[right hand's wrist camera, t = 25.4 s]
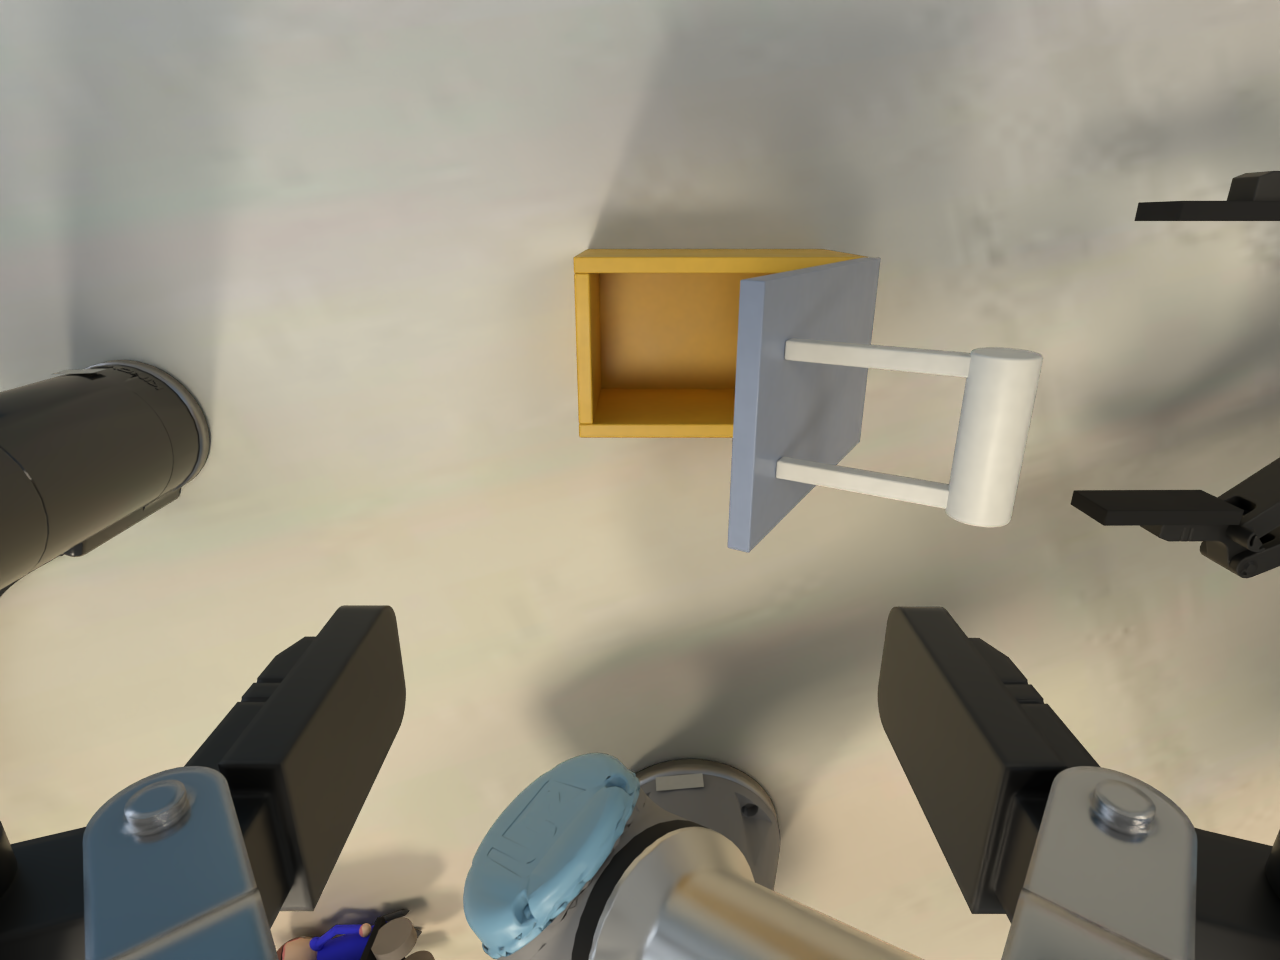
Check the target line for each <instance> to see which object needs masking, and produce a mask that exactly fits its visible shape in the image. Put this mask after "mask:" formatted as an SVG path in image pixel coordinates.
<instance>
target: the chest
mask: <svg viewBox="0 0 1280 960" xmlns="http://www.w3.org/2000/svg"><path fill="white" fill-rule="evenodd" d="M863 257H865V256H859V255H854V254H848V253H842V252H836V251H831V250H825V249H588V250H585V251H584V252H582V253H580V254H579V255H577V256H575V257H574V273H575V274H574V284H575V316H576V348H577V379H578V411H579V423H580V424H579V436H580V437H695V438H733V424H734V403H735V382H736V361H737V340H738V319H739V298H740V281H741V280H743V279H748V278H754V277H759V276H765V275H770V274H776V273H781V272H787V271H792V270H797V269H803V268H808V267H814V266H819V265H825V264H830V263H836V262H841V261H847V260H852V259H858V258H863Z"/></svg>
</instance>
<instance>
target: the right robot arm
mask: <svg viewBox="0 0 1280 960" xmlns="http://www.w3.org/2000/svg"><path fill="white" fill-rule="evenodd" d="M53 374H65V375H62V376H58V377H54V378H50V379H47V380H43V381H40V382H36V383H32V384H29V385H25V386H21V387H18V388H14V389H10V390H7V391H3V392H0V596H1V595H2V594H3V593H4V592H5V591H6V590H7V589H8V588H9V587H10V586H12V585H13V584H14V583H15V582H17V581H18V580H19V579H21V578H22V577H24V576H25V575H27V574H29V573H30V572H32V571H34V570H35V569H37V568H39V567H41V566H42V565H44V564H46V563H48V562H50V561H51V560H53V559H55V558H56V557H58V556H63V555H68V556H72V557H79V556H83V555H85V554H87V553H88V552H90V551H92V550H93V549H95V548H96V547H98V546H100V545H101V544H103V543H105V542H106V541H108V540H110V539H111V538H113V537H115V536H116V535H118V534H120V533H121V532H123V531H124V530H126V529H128V528H129V527H131V526H133V525H134V524H136V523H138V522H139V521H141V520H143V519H144V518H146V517H148V516H149V515H151V514H152V513H154V512H156V511H157V510H159V509H161V508H162V507H164V506H166V505H167V504H169V503H171V502H172V501H174V500H176V499H177V498H178V497H179V490H180V488H181V487H182V486H183V485H185V484H187V483H188V482H190V481H191V480H192V479H193V478H194V477H195V476H197V474H198V473H199V472H200V471H201V469H202V467H203V466H204V464H205V462H206V459H207V456H208V451H209V432H208V427H207V423H206V420H205V417H204V415H203V413H202V411H201V409H200V407H199V405H198V404H197V402H196V401H195V399H194V398H193V396H192V395H191V394H190V393H189V392H188V391H187V389H186V388H185V387H184V386H183V385H181V384H180V383H179V382H178V381H177V380H176V379H174V378H173V377H171V376H170V375H168V374H167V373H165V372H163V371H162V370H160V369H158V368H156V367H153V366H151V365H148V364H145V363H141V362H137V361H131V360H114V361H108V362H104V363H100V364H96V365H93V366H90V367H87V368H85V369H83V370H65V371H61V372H57V373H53ZM405 701H406V687H405V679H404V672H403V665H402V658H401V650H400V643H399V636H398V629H397V622H396V616H395V613H394V611H393V609H392V607H390V606H341V607H339V608H338V609H337V611H336V612H335V613H334V614H333V616H332V617H331V618H330V620H329V621H328V622H327V623H326V625H325V626H324V627H323V629H322V630H321V631H320V633H319V634H318V635H317V636H316V637H304V638H302V639H301V640H299V641H298V642H296V643H295V644H293V645H292V646H290V647H289V648H287V649H286V650H284V651H283V652H281V653H280V654H278V655H277V656H275V658H274V659H273V660H272V661H271V662H270V664H269V665H268V666H267V667H266V668H265V670H264V671H263V672H262V673H261V674H260V676H259V677H258V678H257V683H253V684H252V685H251V687H250V688H249V689H248V690H247V691H246V693H245V694H244V695H243V696H242V700H241V702H237V703H236V705H235V706H234V707H233V708H232V709H231V711H230V712H229V713H228V714H227V715H226V717H225V718H224V719H223V720H222V721H221V723H220V724H219V725H218V726H217V727H216V729H215V730H214V731H213V732H212V733H211V735H210V736H209V737H208V738H207V740H206V741H205V742H204V743H203V744H202V746H201V747H200V748H199V749H198V750H197V752H196V753H195V754H194V755H193V756H192V758H191V759H190V760H189V761H188V762H187V764H186V765H185V766H184V767H179V768H174V769H170V770H165V771H162V772H159V773H156V774H153V775H151V776H148V777H146V778H144V779H141V780H139V781H138V782H136V783H134V784H132V785H130V786H128V787H127V788H125V789H123V790H122V791H120V792H119V793H117V794H116V795H115V796H113V797H112V798H111V799H109V800H108V801H107V802H106V803H105V804H104V805H103V806H102V807H101V808H99V810H98V811H97V812H96V813H95V814H94V815H93V817H92V818H91V820H90V821H89V823H88V824H87V826H86V827H83V828H79V829H75V830H70V831H66V832H62V833H58V834H53V835H49V836H45V837H40V838H36V839H32V840H27V841H23V842H19V843H15V844H10V843H9V840H8V838H7V835H6V833H5V831H4V828H3V826H2V823H1V821H0V960H279V959H278V955H277V952H276V948H275V945H274V941H273V938H272V934H271V931H270V929H271V927H272V925H273V923H274V921H275V919H276V917H277V915H278V913H279V911H314V908H315V906H316V904H317V902H318V900H319V898H320V896H321V894H322V891H323V889H324V887H325V885H326V883H327V881H328V879H329V877H330V874H331V872H332V870H333V868H334V866H335V864H336V862H337V860H338V857H339V855H340V853H341V851H342V849H343V847H344V845H345V843H346V840H347V838H348V836H349V834H350V832H351V830H352V828H353V826H354V824H355V821H356V819H357V817H358V815H359V813H360V811H361V809H362V807H363V804H364V802H365V800H366V798H367V796H368V794H369V792H370V790H371V787H372V785H373V783H374V781H375V779H376V777H377V775H378V773H379V770H380V768H381V766H382V764H383V762H384V760H385V758H386V756H387V753H388V751H389V749H390V747H391V745H392V743H393V741H394V739H395V736H396V734H397V732H398V730H399V728H400V725H401V722H402V719H403V715H404V710H405ZM878 707H879V713H880V718H881V722H882V725H883V728H884V730H885V732H886V734H887V736H888V739H889V741H890V743H891V745H892V747H893V749H894V751H895V753H896V755H897V757H898V760H899V762H900V764H901V766H902V768H903V770H904V772H905V774H906V776H907V778H908V781H909V783H910V785H911V787H912V789H913V791H914V793H915V795H916V797H917V799H918V801H919V804H920V806H921V808H922V810H923V812H924V814H925V816H926V818H927V820H928V822H929V825H930V827H931V829H932V831H933V833H934V835H935V837H936V839H937V841H938V843H939V846H940V848H941V850H942V852H943V854H944V856H945V858H946V860H947V862H948V864H949V866H950V869H951V871H952V873H953V875H954V877H955V879H956V881H957V883H958V885H959V887H960V890H961V892H962V894H963V896H964V898H965V900H966V902H967V904H968V906H969V908H970V911H971V913H972V914H1006V915H1007V917H1008V918H1009V920H1010V922H1011V927H1010V931H1009V934H1008V938H1007V941H1006V945H1005V948H1004V952H1003V955H1002V959H1001V960H1280V830H1279V833H1278V835H1277V838H1276V840H1275V842H1274V845H1273V846H1269V845H1265V844H1260V843H1256V842H1252V841H1248V840H1243V839H1239V838H1235V837H1230V836H1226V835H1222V834H1217V833H1213V832H1209V831H1205V830H1201V829H1197V828H1194V826H1193V824H1192V823H1191V821H1190V820H1189V818H1188V817H1187V815H1186V814H1185V813H1184V812H1183V811H1182V810H1181V808H1179V807H1178V806H1177V805H1176V804H1175V803H1174V802H1173V801H1172V800H1171V799H1169V798H1168V797H1167V796H1165V795H1164V794H1163V793H1161V792H1160V791H1158V790H1157V789H1155V788H1153V787H1152V786H1150V785H1148V784H1146V783H1144V782H1142V781H1141V780H1139V779H1136V778H1134V777H1132V776H1129V775H1127V774H1124V773H1121V772H1118V771H1115V770H1110V769H1106V768H1101V767H1100V766H1099V765H1098V763H1097V762H1096V761H1095V760H1094V759H1093V757H1092V756H1091V755H1090V754H1089V753H1088V752H1087V750H1086V749H1085V748H1084V747H1083V746H1082V744H1081V743H1080V742H1079V741H1078V740H1077V738H1076V737H1075V736H1074V735H1073V734H1072V732H1071V731H1070V730H1069V729H1068V728H1067V726H1066V725H1065V724H1064V723H1063V722H1062V720H1061V719H1060V718H1059V717H1058V716H1057V715H1056V713H1055V712H1054V711H1053V710H1052V709H1051V707H1050V706H1049V705H1048V704H1044V702H1043V698H1042V697H1041V695H1040V694H1039V693H1038V692H1037V691H1036V689H1035V688H1034V687H1033V686H1032V685H1028V682H1027V679H1026V678H1025V676H1024V675H1023V674H1022V673H1021V672H1020V670H1019V669H1018V668H1017V667H1016V666H1015V664H1014V663H1013V662H1012V661H1011V660H1010V658H1009V657H1007V656H1006V655H1004V654H1003V653H1001V652H1000V651H998V650H997V649H995V648H994V647H992V646H991V645H989V644H987V643H986V642H984V641H983V640H981V639H980V638H968V637H967V636H966V635H965V633H964V632H963V631H962V630H961V628H960V627H959V626H958V624H957V623H956V622H955V621H954V619H953V618H952V617H951V615H950V614H949V613H948V612H947V611H946V609H944V608H943V607H894V608H892V610H891V611H890V614H889V617H888V621H887V628H886V635H885V642H884V649H883V656H882V663H881V671H880V678H879V685H878Z"/></svg>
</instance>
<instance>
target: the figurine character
mask: <svg viewBox="0 0 1280 960" xmlns="http://www.w3.org/2000/svg"><path fill="white" fill-rule="evenodd" d="M408 912H409V910H404V909H403V910H400V911H397V912H394V913H391V914H388V915H385V916H382V917H379V918H377V920H376V921H375V925H372V926H370V924H368V923H365V924H363V925H362V924H358V925H338V924H337V925H335V926H334V927H332V928H331V929H330V930H329V931H327V932H326V933H325V934H324V935H322V936H321V937H314V938H311V937H306V936H304V937H297V938H294V939H292V940H290V941H288V942H286V943H285V944H284V945H283V946H281V947H280V948H279V950H278V951H277V955H278V959H279V960H435V959H434V957H433V955H432V954H431V953H430V952H428V951H418V952H415V953H413V954H411V955H409V956H408V957H407V958H405V956H406V955H407V954H408V953H409V952H410V951H411V950H412V948H413V947H414V945H415V943H416V941H417V938H418V936H419V935H420V934H421V932H422V931H419V930H417V929H415V928H414V927H413V925H412V923H411V921H410V920H409V919H407V918H399V917H402V916H405V915H406V914H407V913H408ZM396 918H397V919H396ZM393 919H394V920H393ZM390 920H392V921H390ZM387 921H390V922H388V923H387ZM336 934H346V935H343V936H340V937H337V938H334V939H331V938H333V937H334V936H335V935H336ZM330 939H331V940H330Z"/></svg>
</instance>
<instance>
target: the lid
mask: <svg viewBox="0 0 1280 960" xmlns="http://www.w3.org/2000/svg"><path fill="white" fill-rule="evenodd" d="M879 267H880V258H870V257H863V258H858V259H852V260H847V261H841V262H836V263H830V264H825V265H819V266H814V267H808V268H803V269H797V270H792V271H787V272H781V273H776V274H770V275H765V276H759V277H754V278H748V279H743V280H741V281H740V298H739V319H738V340H737V361H736V382H735V403H734V424H733V445H732V466H731V487H730V508H729V528H728V548H731V549H736V550H740V551H744V552H750V551H751V550H752V549H753V548H754V547H755V546H756V545H757V544H758V543H759V542H760V541H761V540H762V539H763V538H764V537H765V536H766V535H767V534H768V533H769V532H770V531H771V530H772V529H773V528H774V527H775V526H776V525H777V524H778V523H779V522H780V521H781V520H782V519H783V518H784V517H785V516H786V515H787V514H788V513H789V512H790V511H791V510H792V509H793V508H794V507H795V506H796V505H797V504H798V503H799V502H800V501H801V500H802V499H803V498H804V497H805V496H806V495H807V494H808V493H809V492H810V491H811V490H812V489H813V488H814V487H815V486H816V485H818V486H823V487H829V488H834V489H840V490H845V491H851V492H856V493H861V494H867V495H872V496H878V497H883V498H889V499H894V500H899V501H905V502H910V503H916V504H921V505H927V506H932V507H937V508H943V509H945V511H946V514H947V515H948V516H949V517H951V518H952V519H954V520H956V521H959V522H961V523H964V524H968V525H972V526H978V527H1001V526H1005V525H1007V524H1008V523H1009V522H1010V521H1011V517H1012V512H1013V507H1014V502H1015V497H1016V492H1017V487H1018V482H1019V477H1020V472H1021V467H1022V462H1023V457H1024V452H1025V447H1026V442H1027V437H1028V432H1029V427H1030V422H1031V417H1032V412H1033V407H1034V402H1035V397H1036V392H1037V387H1038V382H1039V377H1040V372H1041V367H1042V362H1043V356H1042V355H1041V354H1039V353H1036V352H1032V351H1028V350H1021V349H1013V348H994V347H992V348H978V349H974V350H972V351H971V353H963V352H951V351H939V350H928V349H916V348H904V347H892V346H880V345H871V338H872V329H873V320H874V311H875V303H876V294H877V285H878V276H879ZM868 368H873V369H883V370H893V371H903V372H913V373H923V374H933V375H943V376H953V377H963V378H966V384H965V390H964V396H963V402H962V409H961V415H960V421H959V427H958V433H957V439H956V445H955V451H954V457H953V464H952V470H951V476H950V482H949V484H944V483H938V482H932V481H926V480H920V479H914V478H908V477H902V476H896V475H890V474H884V473H878V472H872V471H866V470H861V469H855V468H849V467H843V466H837V464H838V463H839V462H840V461H841V460H842V459H843V458H844V457H845V456H846V455H847V454H848V453H849V452H850V451H851V450H852V449H853V448H854V447H855V446H856V445H857V444H858V443H859V442H860V435H861V426H862V417H863V408H864V399H865V391H866V382H867V373H868Z"/></svg>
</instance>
